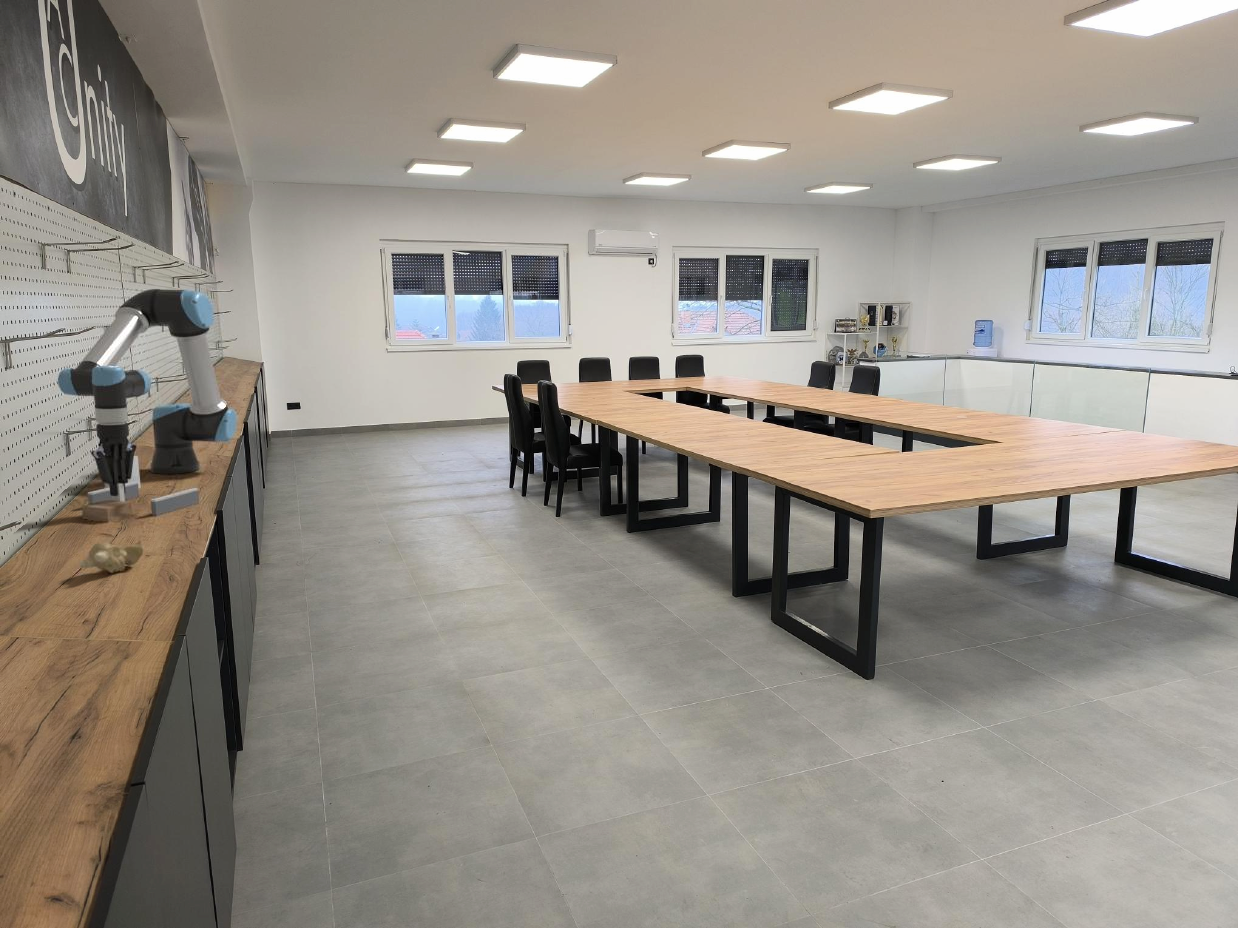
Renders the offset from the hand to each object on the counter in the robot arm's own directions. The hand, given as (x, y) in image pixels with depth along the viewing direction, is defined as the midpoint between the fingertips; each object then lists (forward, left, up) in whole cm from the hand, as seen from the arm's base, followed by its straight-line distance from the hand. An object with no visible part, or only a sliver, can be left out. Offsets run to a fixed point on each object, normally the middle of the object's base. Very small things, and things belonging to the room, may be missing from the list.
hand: (119, 506), depth 224 cm
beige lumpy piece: (+39, +38, -2) cm, 55 cm away
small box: (-22, -21, -2) cm, 30 cm away
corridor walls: (-9, 0, -2) cm, 9 cm away
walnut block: (+5, +1, -2) cm, 5 cm away
